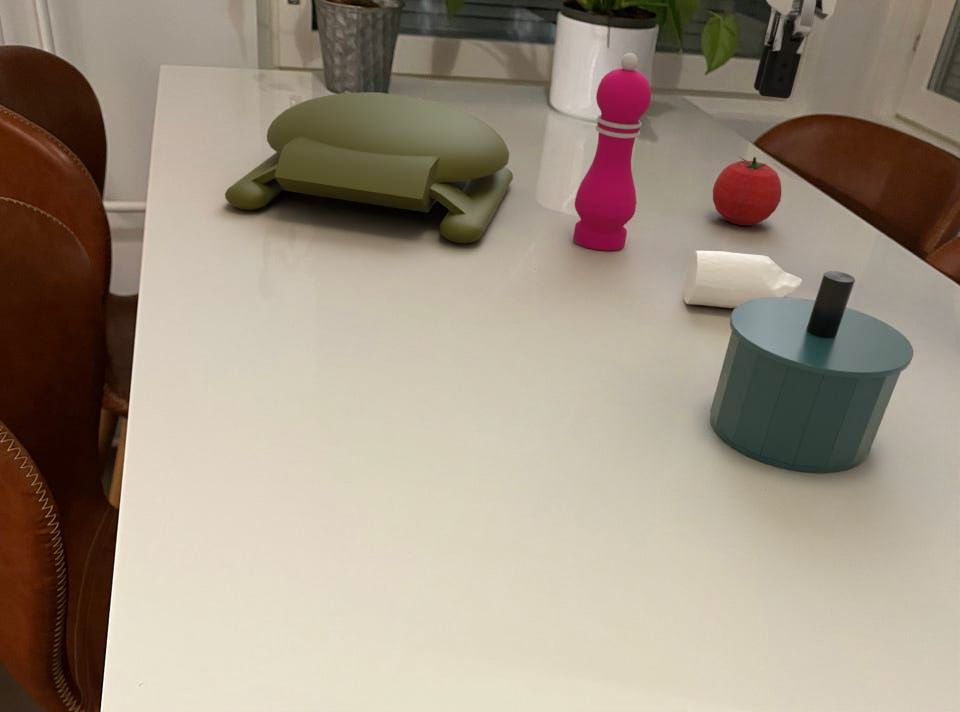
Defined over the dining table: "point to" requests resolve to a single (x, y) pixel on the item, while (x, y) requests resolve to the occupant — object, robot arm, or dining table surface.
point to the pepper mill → (612, 160)
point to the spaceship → (384, 158)
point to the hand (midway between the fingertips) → (771, 92)
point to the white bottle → (734, 279)
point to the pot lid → (822, 333)
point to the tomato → (747, 192)
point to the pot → (796, 412)
